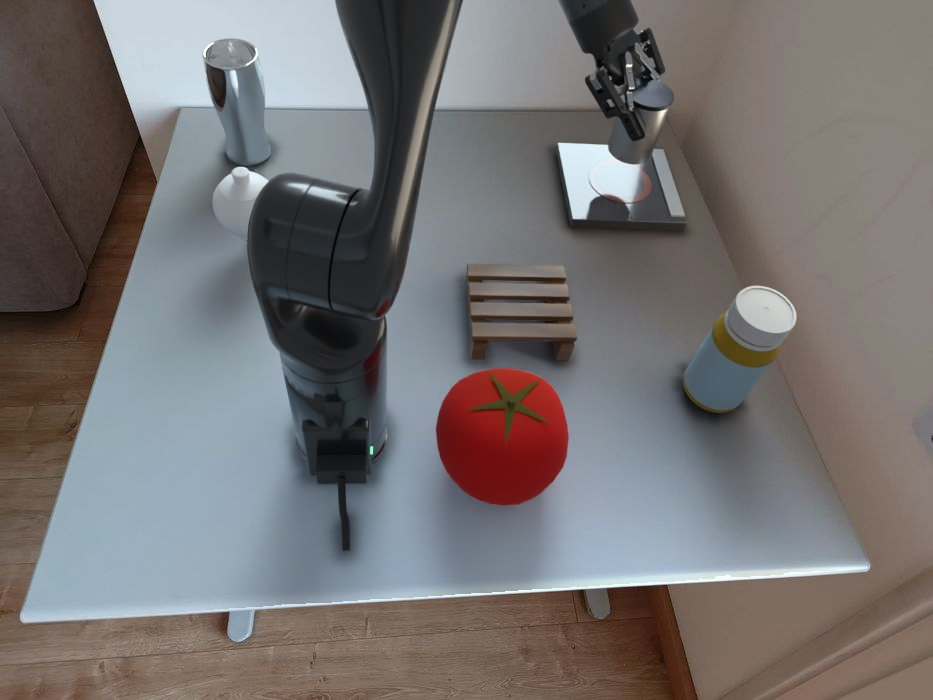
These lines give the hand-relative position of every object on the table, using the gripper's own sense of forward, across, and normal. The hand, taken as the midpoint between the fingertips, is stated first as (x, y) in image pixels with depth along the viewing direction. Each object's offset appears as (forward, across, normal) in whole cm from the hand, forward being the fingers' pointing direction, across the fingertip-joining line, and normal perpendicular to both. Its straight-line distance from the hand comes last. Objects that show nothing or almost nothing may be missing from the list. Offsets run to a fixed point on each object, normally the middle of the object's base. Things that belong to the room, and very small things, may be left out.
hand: (651, 125), depth 92 cm
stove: (+7, 0, +9) cm, 12 cm away
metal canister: (+2, 0, +5) cm, 5 cm away
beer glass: (-24, -28, +41) cm, 55 cm away
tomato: (+14, -47, +2) cm, 49 cm away
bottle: (+25, -24, -8) cm, 35 cm away
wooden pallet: (+8, -29, +8) cm, 32 cm away
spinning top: (-14, -40, +31) cm, 53 cm away
